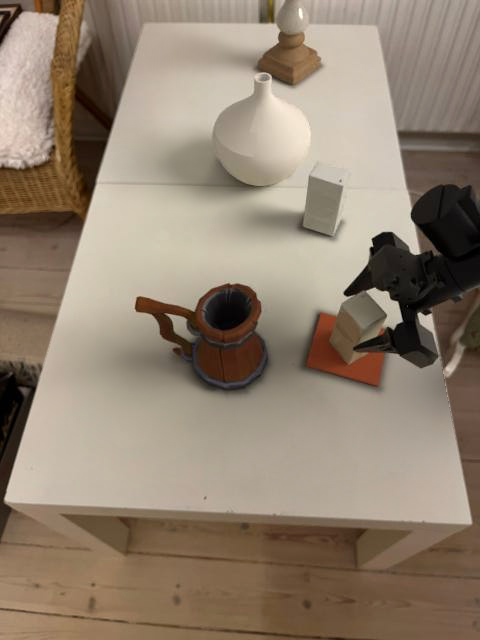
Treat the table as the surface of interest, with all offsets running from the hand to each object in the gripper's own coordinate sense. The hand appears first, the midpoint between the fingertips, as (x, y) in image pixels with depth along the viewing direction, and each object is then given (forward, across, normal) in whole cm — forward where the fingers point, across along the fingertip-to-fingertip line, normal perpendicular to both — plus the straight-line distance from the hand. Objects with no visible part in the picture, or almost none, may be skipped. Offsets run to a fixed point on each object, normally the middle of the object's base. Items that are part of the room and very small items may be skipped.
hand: (349, 321), depth 69 cm
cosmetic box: (+6, -26, +6) cm, 27 cm away
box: (+5, 0, +6) cm, 8 cm away
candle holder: (+7, -77, +4) cm, 77 cm away
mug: (+20, +1, -9) cm, 22 cm away
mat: (+5, 0, +6) cm, 8 cm away
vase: (+13, -42, -2) cm, 44 cm away
